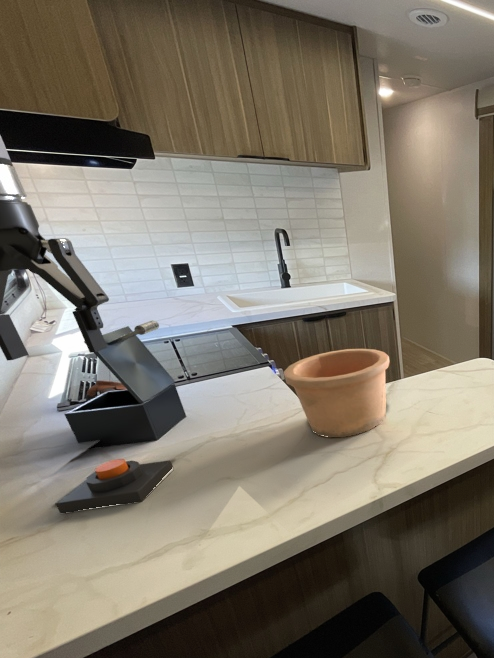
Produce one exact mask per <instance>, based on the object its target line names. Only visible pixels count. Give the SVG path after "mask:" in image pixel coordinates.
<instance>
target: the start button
mask: <svg viewBox="0 0 494 658" xmlns="http://www.w3.org/2000/svg"><path fill="white" fill-rule="evenodd" d="M126 461H127V460H126V459H124V458H117V459H112V460H108V461H106V462H103V463H101V464H100V465H98V466H96V467H95V468H94V472H96V474H97V476H98V478H99V479H100V480H101V479H108V478H111V477H114V476H118V475H120V474H122V473H124V472H126V471H127V470H128V469H129V468H128V465H127V463H126Z"/></svg>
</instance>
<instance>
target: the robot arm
mask: <svg viewBox="0 0 494 658" xmlns="http://www.w3.org/2000/svg"><path fill="white" fill-rule="evenodd" d="M26 197H27V193H26V191H25V188H24V186H23V184H22V181H21V179H20V177H19V174H18V173H17V170H16V168H15V166H14V164H13V162H12V161H11V158H10V155H9V153H8V150H7V148H6V145H5V142H4V140H3V137H2V136H1V134H0V349H1V352H2V353H3V356H4V357H5V359H6V361H13V360H17V359H18V360H19V359H21V358H23V357H27V356H29V352H28V350H27V348H26V346H25V344H24V342H23V340H22V338H21V336H20V334H19V331H18V330H17V328H16V326H15V324H14V321H13V320H12V317H11V316H10V314H9V313H8V314H5V313H6V311H4V310H3V309H2V307H3V302H4V297H5V293H6V288H7V284H8V280H9V279H8V278H9V276H10V275H11V274H12V273H13V271H18V270H19V271H25V270H28V271H29V272H31V273H33V274H35V275H37V276H39V277H40V278H41V279H42V280H43V281H45V282H46V283H47V284H48V285H49V286H50V287H52V288H53V289H54V290H55V291H56V292H58V293H59V294H60V295H61V296H63V297H64V298H65V299H66V300H67V301H68V302H69V303H71V304H72V305H73V306H74V307H75V308H74V310H73V311H72V315H73V317H74V319H75V322H76V325H77V326H78V328H79V329H78V330H79V331H80V333H81V336H82V338H83V340H84V341H85V343H86V344H85V343H84V344H85V345H86V347H87V350H88V352H89V353H91V354H92V353H93V352H97V351H100V350H103V349H105V348H108V347H107V345H106V343H105V340H104V338H103V335H104V334H103V333H102V331H101V329H103V328H104V323H103V320H102V317H101V315H100V312H99V311H98V307H99V306H101V305H102V304H105V303H108V302H109V301H110V298H109V296H108V295H107V294H106V293H105V291H104V290H103V288H102V287H101V286H100V284H99V282H97V280H96V279H95V278H94V277H93V275H92V274H91V273H90V271H89V270H88V269H87V267H86V266H85V265H84V263H83V262H82V261H81V259H80V258H79V257H78V256H77V254H76V252H75V249H74V246H73V243H72V240H70V239H69V238H66V237H65V238H49V239H46V238H44V237H43V236H42V235H41V233H40V232H39V228H40V224H39V221H38V219H37V217H36V215H35V212H34V210H33V207H32V205H31V204H29V203H28V202H27V201H23V199H26ZM46 253H50V254H52V256H53V258H54V260H55V261H56V262H55V261H53V259H51V258H50V257H48V256H47V254H46ZM57 263H58V264H57ZM58 265H59V266H60V267H61V269H62V270H63V271H62V270H61V269H59V266H58ZM64 272H65V273H64ZM93 354H94V353H93Z"/></svg>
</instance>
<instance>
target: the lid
mask: <svg viewBox="0 0 494 658" xmlns="http://www.w3.org/2000/svg"><path fill="white" fill-rule="evenodd" d="M159 328H160V324H159V322H158V321H156V320H149V321H147V322H144V323H140V324H138V325H136V326H135V327H134V328H133V329H131V327H130V326H129V325H126V326H123V327H121V328H119V329H118V328H117V329H116V330H112V331H110V332H106V333H104V334H102V335H103V338H104V340H105V343H106V345H107V347H108V348H105V349H103V350H100V351H97V352H93V354H94V355H95V356H96V357H97V359H99V361H100V362H101V363H102V364H103V365H104V366H105V367H106V368H107V369H108V370H109V371H110V373H111V374H113V375H114V377H115V378H116V379H117V380H118V381H119V383H122V384H123V385H124V386H125V388H126V389H127V390H128V391H129V392H130V393H131V394H132V395H133V396H134V397H135V399H136V400H137V401H138V402H139V403H140V404H141V403H143V402H145V401H146V400H148V399H149V398H151V397H153V396H154V395H156V394H157V393H159V392H160V391H162V390H163V389H165V388H167V387H168V386H170V385H172V384H175V383H176V380H175V379H174V378H173V377H172V376H171V375H170V373H169V372H168V370H166V368H165V367H164V366H163V365H162V364H161V363H160V362H159V360H158V359H157V358H156V357H155V356H154V354H153V353H152V352H151V351H150V350H149V348H148V347H147V346H146V345H145V343H143V342H142V340H141V339H140V338H139V337H138V336H137V335H140V336H142V335H145V334H149V333H151V332H153V331H156V330H158V329H159ZM83 343H84V344H85V345H86V343H85V340H84V341H83Z"/></svg>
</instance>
